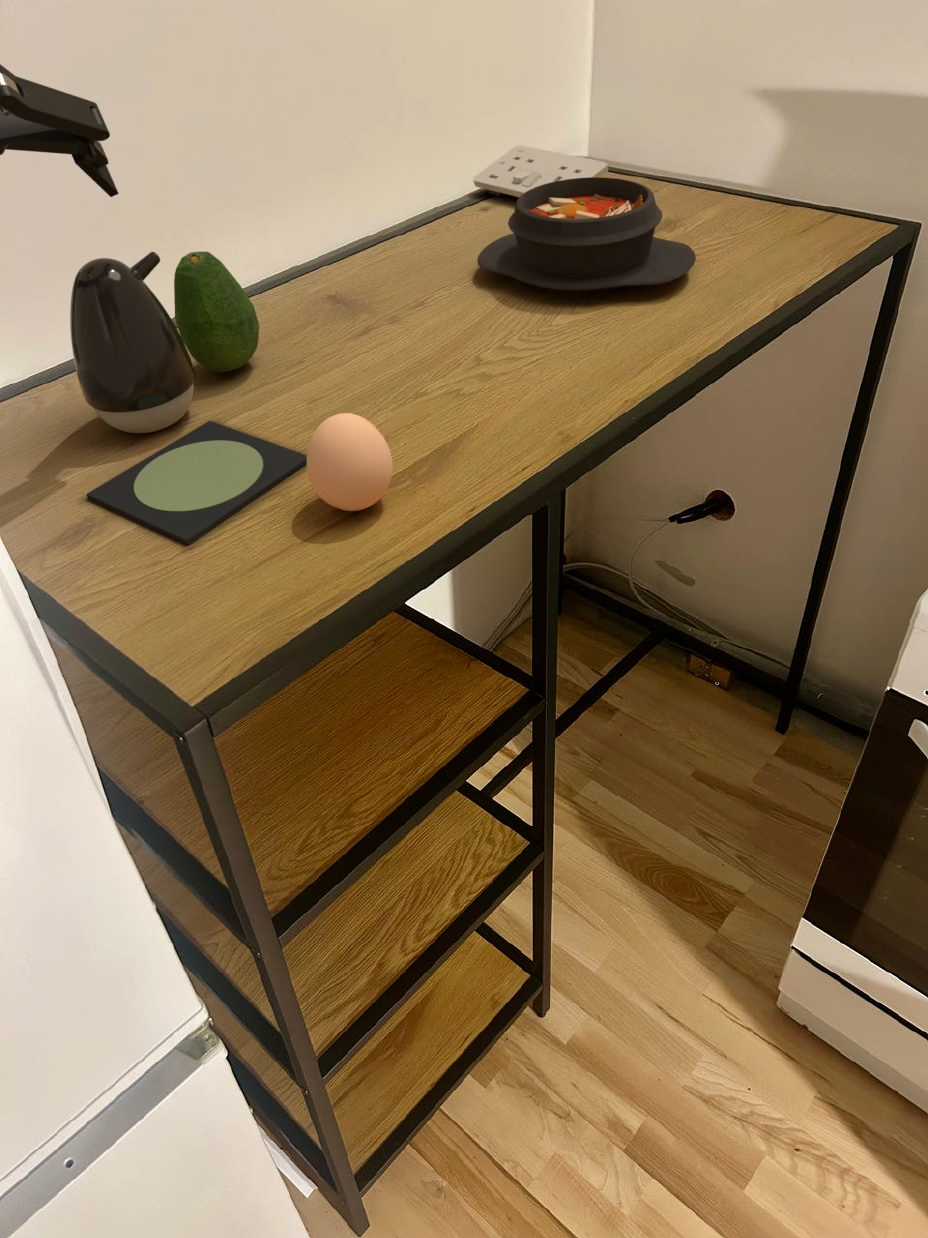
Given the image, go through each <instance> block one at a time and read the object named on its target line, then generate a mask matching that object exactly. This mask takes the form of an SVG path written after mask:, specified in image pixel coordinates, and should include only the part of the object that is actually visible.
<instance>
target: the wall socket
mask: <svg viewBox="0 0 928 1238" xmlns="http://www.w3.org/2000/svg"><path fill="white" fill-rule="evenodd" d="M608 172H609V165H608V163H607V162H606V161H601V160H597V159H591V158H587V157H581V156H577V155H572V154H568V153H563V152H557V151H553V150H547V149H542V148H537V147H532V146H527V145H522V144H519V145H515V146H513V147H512V148H510V149H509V150H508V151H507V152H505V153H504V154H503V155H501V156H500V157H499V158H497V159H496V160H494V161H493V162H492V163H491V164H490V165H488V166H486V167H485V168H484V169H482V171H480V172H479V173H478V174H476V175H474V176H473V179H472V181H473V184H474V187H476V188H480V189H484V190H488V194H489V195H494V196H498V197H501V196H502V195H504V194H505V195H509V196H513V197H515V198H517V199H518V198H519V197H520V196H521V195H522V194H524V193H525V192H526V191H528V190H531V189H533V188H535V187H538V186H541V185H543V184H547V183H551V182H555V181H561V180H567V179H575V178H590V177H597V178H602V177H603V176H604V175H605V174H607V173H608ZM495 200H496V199H495Z"/></svg>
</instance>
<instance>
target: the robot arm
mask: <svg viewBox="0 0 928 1238" xmlns="http://www.w3.org/2000/svg"><path fill="white" fill-rule="evenodd" d="M110 137H111V133H110V131H109V129H108V127H107V124H106V122H105V120H104V117H103V115H102V113H101V111H100V108H99V106H98V104H97V103H96V102H95V101H92V100H89V99H85V98H84V97H83V98H82V97H80V96H76V95H74V94H72V93H68V92H65V91H62V90H59V89H56V88H52V87H50V86H46V85H43V84H41V83H38V82H35V81H31V80H28V79H26V78H23V77H20V76H18V75H17V76H16V75H15V74H14V73H13V72H11V71H10V70H8V69H7V68H6V67H5V66H3V65H2V64H1V63H0V156H2V155H4V154H5V152H6V150H7V151H22V152H36V153H48V154H49V153H50V154H61V155H71V157H72V159H73V162H74V164H75V165H77V167H78V168H79V169H80V170H81V171H83V172H84V174H86V175H87V176H88V177H89V178H90V179H91V180H92V181H93V182H94V183H95V184H96V185H97V186H98V187H100V189H102V191H103V192H105V194H106V195H108V196H109V197H110V198H113V197H115V196H117V195H119V194H120V193H119V192H118V191H119V190H118V189H117V186H116V184H115V182H114V179H113V178H112V175H111V172H110V171H109V168H108V166H107V165H109V159H108V157H107V154H106V152H105V150H104V147H103V146H102V143H101V142H104V141H106V140H108V139H109V138H110Z"/></svg>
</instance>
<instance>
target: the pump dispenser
mask: <svg viewBox="0 0 928 1238" xmlns="http://www.w3.org/2000/svg"><path fill="white" fill-rule="evenodd" d="M160 262H161V258H160V256H159V255H158V253H157V252H155V251H150V252H149V253H148V254H146V255H145V256H144V257H143V258H141V259H140V260H139V261H137V262H136V263H135V264H133V265H131V267H130V266H128V265H127V264H126V263H124V262H122V261H120V260H117V259H115V258H111V257H98V258H94V259H92V260H89V261H88V262H86V263H85V264H84V265H82V266H81V267H80V268H79V270H78V271H77V273H76V274H75V277H74V280H73V284H72V289H71V294H70V307H69V315H70V316H69V325H70V326H69V327H70V330H69V331H70V341H71V343H70V344H71V350H72V356H73V361H74V368H75V370H76V375H77V379H78V383H79V387H80V390H81V393H82V395H83V398H84V401H85V402H86V403H87V404H88V405H89V406H90V407H91V408H93V410H94V411H95V412H96V413H97V415H98V416H99V417H100V418H101V419H102V420H103V421H104V422H105V423H106V424H108V425H110V426H111V427H113V428H114V429H117V430H119V431H122V432H126V433H132V434H149V433H154V432H158V431H161V430H163V429H166V428H168V427H171V426H172V425H173V424H175V423H177V422H178V421H180V420H181V418H183V416H185V414H186V413H187V411H188V410H189V408H190V406H191V404H192V402H193V401H192V400H193V396H194V388H195V387H194V382H195V380H196V371H195V367H194V364H193V361H192V359H191V355H190V353H189V351H188V349H187V347H186V346H185V344H184V342H183V340H182V338H181V336H180V333H179V330H178V327H176V326H177V325H175V323H174V321H173V320H172V317H171V316H170V314H169V313H168V311H167V310H166V308H165V306H164V305H163V303H162V302H161V301H160V299H159V298H158V297H157V296H156V294H155V293H154V291H152V290H151V288H150V287H149V286H148V285H147V284H146V282H145V280H146V278H147V277H148V276H149V275H150V274H151V273H152V271H154V269H155V268H156V267H157V266H158V265H159V263H160Z"/></svg>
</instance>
